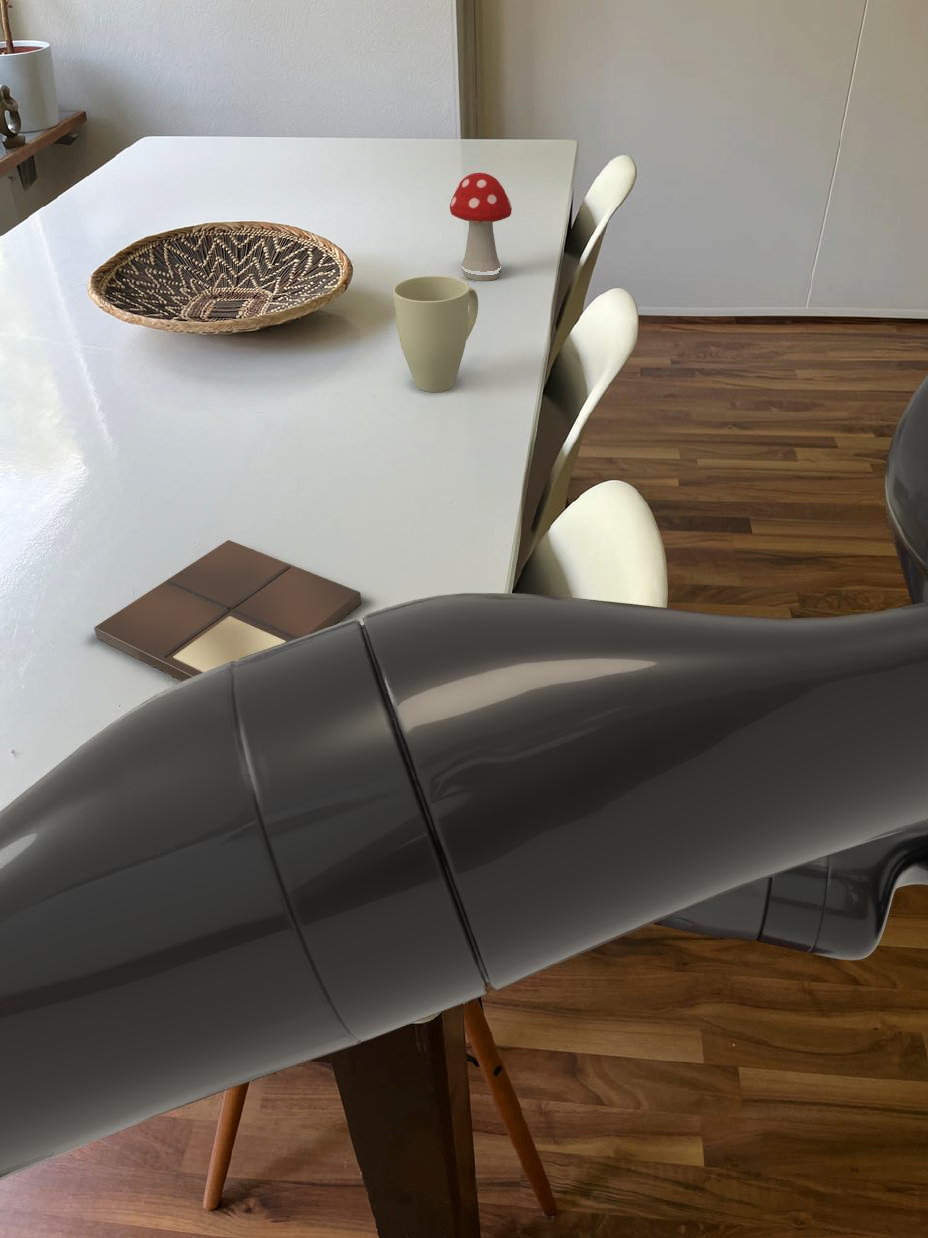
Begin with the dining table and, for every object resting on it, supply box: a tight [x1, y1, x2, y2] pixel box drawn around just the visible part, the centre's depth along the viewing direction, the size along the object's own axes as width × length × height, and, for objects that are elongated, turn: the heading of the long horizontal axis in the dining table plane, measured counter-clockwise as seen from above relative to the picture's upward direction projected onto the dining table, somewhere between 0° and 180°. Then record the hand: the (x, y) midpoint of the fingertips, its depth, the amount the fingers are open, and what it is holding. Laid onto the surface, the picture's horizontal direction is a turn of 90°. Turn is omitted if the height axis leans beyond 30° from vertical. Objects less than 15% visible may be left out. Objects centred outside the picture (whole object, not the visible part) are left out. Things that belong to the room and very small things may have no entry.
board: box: [93, 539, 362, 682], centre depth 85 cm, size 16×16×1 cm
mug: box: [392, 275, 479, 393], centre depth 120 cm, size 11×10×12 cm
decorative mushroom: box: [449, 172, 513, 282], centre depth 150 cm, size 10×9×15 cm
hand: (393, 799), depth 57 cm, fingers open, 8 cm apart
